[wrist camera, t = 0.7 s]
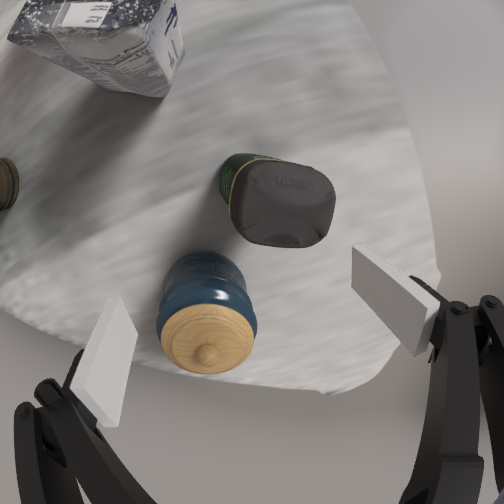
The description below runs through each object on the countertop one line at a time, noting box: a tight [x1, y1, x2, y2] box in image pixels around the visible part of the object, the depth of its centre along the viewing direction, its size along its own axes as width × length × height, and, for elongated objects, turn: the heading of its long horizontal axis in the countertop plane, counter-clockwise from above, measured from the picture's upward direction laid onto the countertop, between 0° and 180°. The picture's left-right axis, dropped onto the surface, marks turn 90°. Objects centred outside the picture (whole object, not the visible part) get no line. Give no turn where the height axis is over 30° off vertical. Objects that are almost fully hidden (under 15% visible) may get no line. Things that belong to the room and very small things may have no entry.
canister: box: [156, 252, 257, 374], centre depth 36 cm, size 13×13×18 cm
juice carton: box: [7, 0, 185, 97], centre depth 18 cm, size 9×10×27 cm
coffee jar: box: [220, 154, 336, 248], centre depth 31 cm, size 10×8×19 cm
